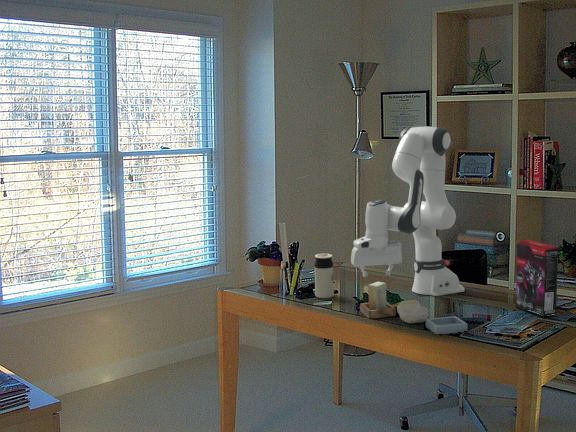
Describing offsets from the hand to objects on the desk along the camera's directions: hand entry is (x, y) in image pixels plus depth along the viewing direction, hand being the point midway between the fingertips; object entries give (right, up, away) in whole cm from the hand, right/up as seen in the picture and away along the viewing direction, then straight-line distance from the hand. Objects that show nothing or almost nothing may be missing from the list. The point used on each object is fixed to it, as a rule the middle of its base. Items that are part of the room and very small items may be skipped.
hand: (376, 275), depth 309 cm
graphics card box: (+62, -14, -2) cm, 64 cm away
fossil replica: (+13, -17, -9) cm, 23 cm away
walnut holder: (+1, -15, +3) cm, 15 cm away
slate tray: (+23, -18, -19) cm, 35 cm away
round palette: (+46, -19, -25) cm, 56 cm away
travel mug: (-19, -11, +30) cm, 37 cm away
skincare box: (+1, -15, +3) cm, 16 cm away
